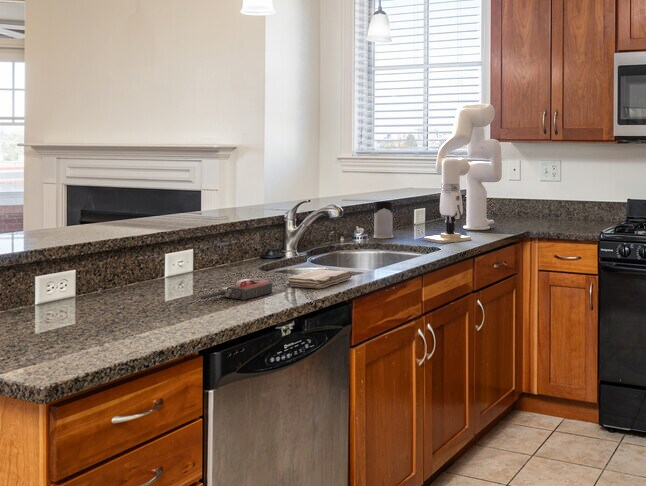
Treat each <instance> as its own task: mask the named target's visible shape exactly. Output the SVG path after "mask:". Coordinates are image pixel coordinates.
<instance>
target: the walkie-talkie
mask: <svg viewBox="0 0 646 486" xmlns="http://www.w3.org/2000/svg"><path fill="white" fill-rule="evenodd" d="M272 293H273V282H272V281H271V280H265V279H261V278H253V279H252V278H242V279H240V280H239V279H238V280H236V281H235V282H234V285H231V286H226V287H221V288H220V290H219V291H215V292H210V293H207V294H203V295H201V296H200V299H201V300H205V299H210V298H214V297H218V296H221V297H222V296H223V297H226V298H228V299H234V300H240V301H246V300H249V299H254V298H258V297H261V296H265V295H268V294H269V295H270V294H272Z"/></svg>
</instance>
